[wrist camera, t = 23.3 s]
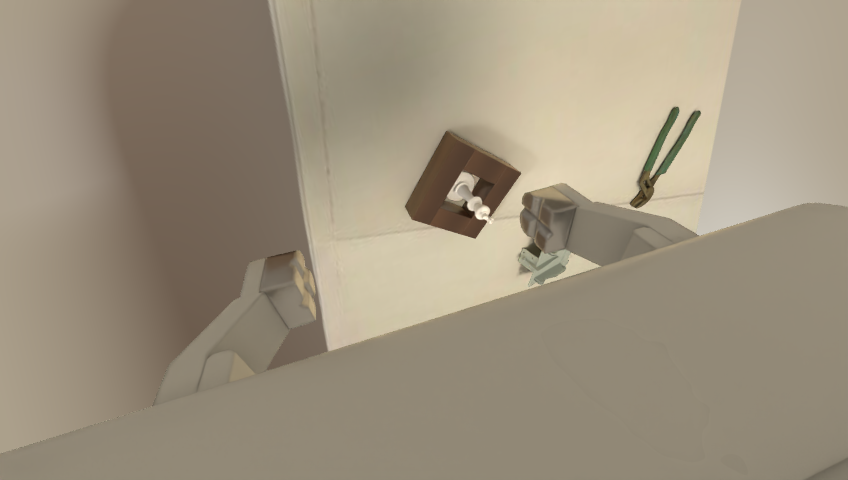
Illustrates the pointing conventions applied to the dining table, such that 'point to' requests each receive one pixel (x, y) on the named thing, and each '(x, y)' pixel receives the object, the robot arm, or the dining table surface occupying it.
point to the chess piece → (469, 196)
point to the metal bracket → (544, 264)
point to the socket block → (443, 176)
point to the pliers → (648, 188)
